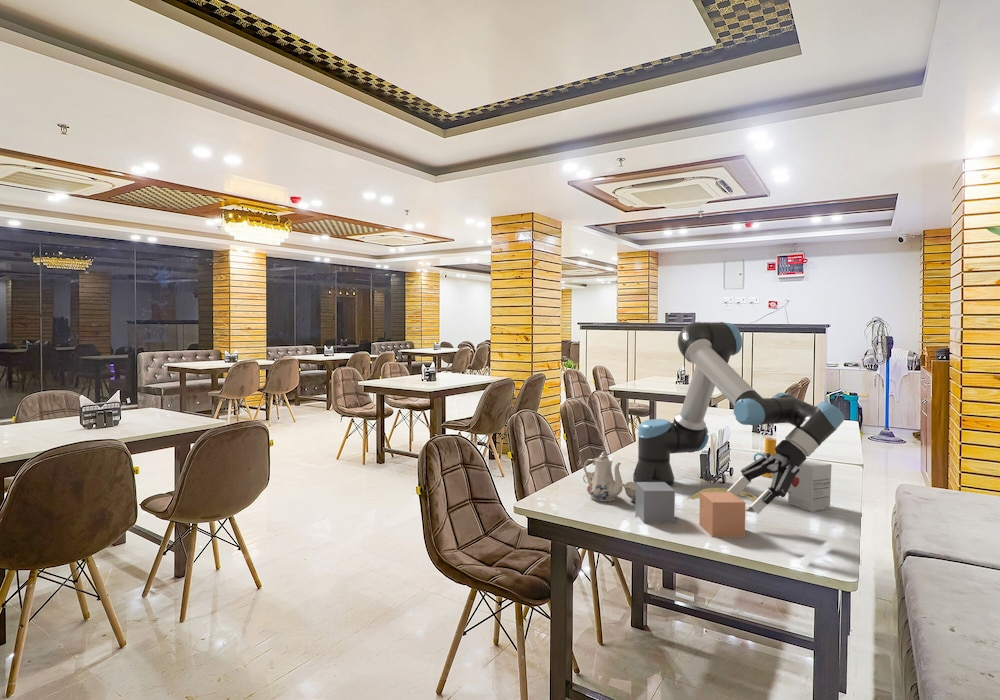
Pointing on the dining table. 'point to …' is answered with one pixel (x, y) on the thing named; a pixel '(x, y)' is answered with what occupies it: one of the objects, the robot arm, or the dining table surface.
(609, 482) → the chinaware
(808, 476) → the supplement box
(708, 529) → the orange rectangular block
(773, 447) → the cylinder
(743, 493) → the gold curved band
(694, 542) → the dining table surface
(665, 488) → the gray block
